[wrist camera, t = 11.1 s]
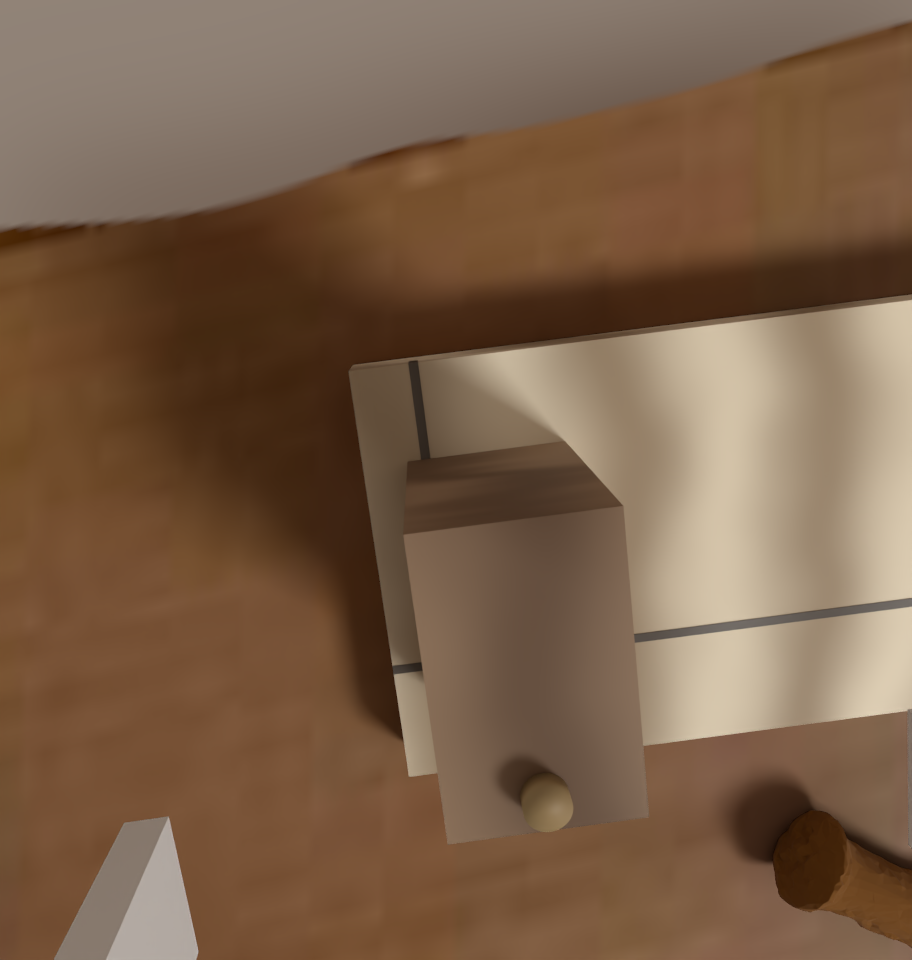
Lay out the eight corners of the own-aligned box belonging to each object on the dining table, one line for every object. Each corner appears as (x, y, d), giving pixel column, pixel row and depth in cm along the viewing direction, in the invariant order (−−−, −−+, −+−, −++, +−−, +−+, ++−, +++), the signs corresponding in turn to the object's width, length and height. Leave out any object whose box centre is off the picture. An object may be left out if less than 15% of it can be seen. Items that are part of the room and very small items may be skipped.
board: (409, 746, 32) (409, 777, 30) (353, 364, 28) (348, 371, 27) (1160, 647, 32) (1209, 671, 30) (1188, 259, 29) (1245, 258, 27)
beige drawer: (439, 692, 29) (448, 860, 21) (407, 461, 27) (402, 542, 19) (587, 673, 29) (655, 832, 21) (565, 440, 27) (629, 512, 19)
